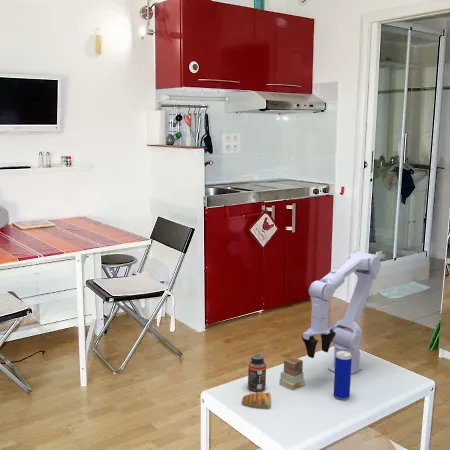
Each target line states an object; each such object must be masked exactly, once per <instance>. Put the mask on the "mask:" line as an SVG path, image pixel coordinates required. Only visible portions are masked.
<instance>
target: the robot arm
mask: <svg viewBox="0 0 450 450" xmlns="http://www.w3.org/2000/svg"><path fill="white" fill-rule="evenodd" d="M381 265H382V264H381V259H380V256H379V255H378V254H377V253H375V254H373V253H368V252H364V251H360V250H357V249H356V250H353V251H352V253H350V254H349V255H348V260H347V261H346V262H345V263H343V265H342V266H340V268H338V269H332V270H330V271H329V273H327V274H326V275H325V276H323V277H322V278H321V279H319V280H315V281H313V282H311V284H310V286H309V288H308V294H309V296H310V301H311V315H310V316H311V318H310V319H311V321H310V327H309V328H308V329H307V330H306V331H304V332H302V336H301V340H302V342H303V343H304V345H305V349H306V353H307V357H309V358H310V359H313V358H315V355H316V349H317V344H318V342H319V340H318V339H316V338H315V336H318V335H320V338H321V339H320V340H321V351H322V352H325V353H328V352H329V350H330V347H331V344H332V346H333V347H334V353H333V365H332V366H330V367H328V370H329V371H332V372H334V373H335V356H336V353H337V352H338V351H347V352H350V353H351V356H352V362H351V375H352V374H354V373H357V372H359V371H361V370H362V367H360V360H361V351H360V348H359V346H360V345H361V341H362V339H361V338H362V334H363V331H362V328H361V327H360V325H359V321H360V318H361V316H362V312H363V310H364V307H365V306H366V301H367V299H368V297H369V294H370V291H371V289H372V285H373V283H374V280H376V279H377V276H378V274H379V272H380V269H381ZM352 273H354V274H355V275H356V276H357V278H358V279H357V282H356V285H355V287H354V289H353V292H352V294H351V298H350V300H349V303H348V306H347V309H346V311H345V314H344V317H343V318H342V319H339V320H338V321H336V322H335V324H334V323H329V315H330V314H329V313H330V300H331V299H332V297H333V296H334V294H335V292H336V290H337V289H339V288H340V287H341V286H342V285H343V284H344V283H345V281H346V279H345V278H347V277H348V276H350V275H351V274H352Z"/></svg>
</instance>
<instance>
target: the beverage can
mask: <svg viewBox="0 0 450 450" xmlns="http://www.w3.org/2000/svg"><path fill="white" fill-rule="evenodd" d="M351 362H352V356H351V353H350V352H347V351H338V352H337V353H336V356H335V372H334V379H333V396H334V398H336V399H337V400H343V401H345V400H348V399H349V398H350V394H351V380H352V379H351V377H352V374H351Z"/></svg>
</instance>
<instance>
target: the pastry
mask: <svg viewBox="0 0 450 450" xmlns="http://www.w3.org/2000/svg"><path fill="white" fill-rule="evenodd" d="M241 401H242V403H243V404H244V406H246V405H247V406H248V407H250V406H251V407H252V408H254V409H267V410H268V409H270V408H271V407H272V395H271V393H270V391H269V392H263V391H256V392H253V393H249V394H245V395H244V396H243V397H242V399H241Z"/></svg>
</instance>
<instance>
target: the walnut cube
mask: <svg viewBox="0 0 450 450" xmlns="http://www.w3.org/2000/svg"><path fill="white" fill-rule="evenodd" d="M303 362H304V360H302V359H300V358H297V357H295V356H291V357H288V358H286V359H284V360H283V371H284V373H286V374H288V375H290V376H293V377H295V376H297V375H299V374H301V373H302V372H303V366H304V363H303Z"/></svg>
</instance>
